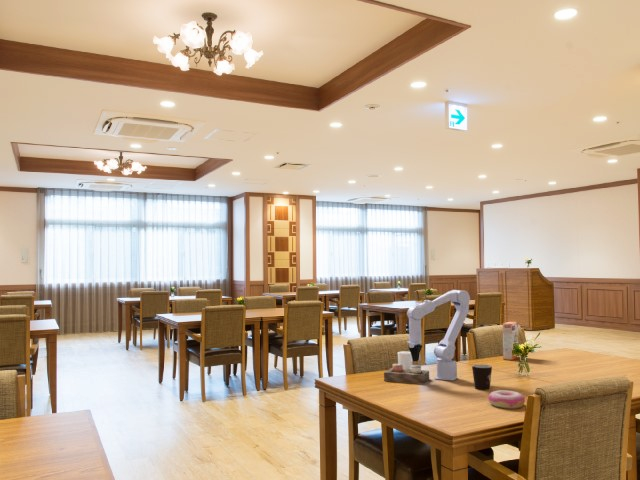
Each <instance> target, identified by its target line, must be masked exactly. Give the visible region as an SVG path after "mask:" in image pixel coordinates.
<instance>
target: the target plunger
mask: <svg viewBox="0 0 640 480" xmlns="http://www.w3.org/2000/svg"><path fill="white" fill-rule="evenodd" d="M391 366H392V367H391V368H392V371H393V372H403V364H398V363H393V364H392V365H391Z"/></svg>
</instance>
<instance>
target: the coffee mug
mask: <svg viewBox="0 0 640 480" xmlns="http://www.w3.org/2000/svg"><path fill="white" fill-rule="evenodd" d="M471 369H472V377H473V385H474V389H475V390H477V391H490V390H491V383H492V382H491V380H492V371H493V370H492V369H493V366H492V365H490V364H483V363H477V364H472V365H471Z"/></svg>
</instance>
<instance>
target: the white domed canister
mask: <svg viewBox="0 0 640 480" xmlns="http://www.w3.org/2000/svg"><path fill="white" fill-rule="evenodd" d="M410 368H411V373H417V374H420V373H421V370H422V366H421V365H420V364H413V365H411V366H410Z"/></svg>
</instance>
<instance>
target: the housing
mask: <svg viewBox="0 0 640 480" xmlns="http://www.w3.org/2000/svg"><path fill="white" fill-rule="evenodd" d="M429 380H430V370H426V369H425V370H424V369H423V370H422V369H421V373H420V374H417V373H411V369H403V372H393V371H392V367H390V368H389V369H387V370H385V371H384V372H383V382H394V383H404V382H407V384H419V385H424V384H425V383H427V381H429Z"/></svg>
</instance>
